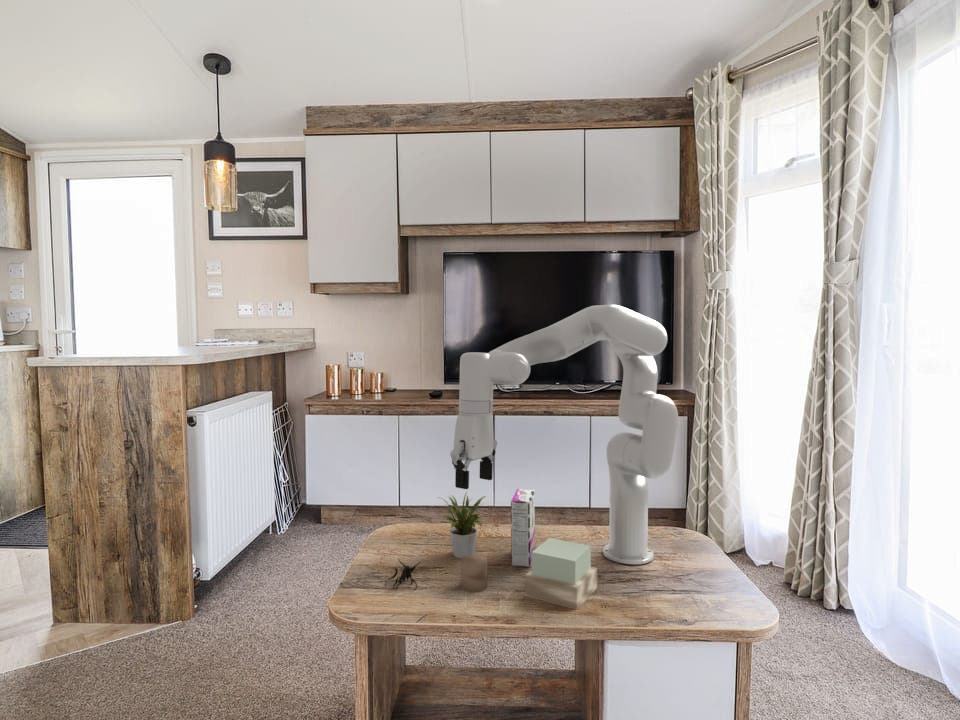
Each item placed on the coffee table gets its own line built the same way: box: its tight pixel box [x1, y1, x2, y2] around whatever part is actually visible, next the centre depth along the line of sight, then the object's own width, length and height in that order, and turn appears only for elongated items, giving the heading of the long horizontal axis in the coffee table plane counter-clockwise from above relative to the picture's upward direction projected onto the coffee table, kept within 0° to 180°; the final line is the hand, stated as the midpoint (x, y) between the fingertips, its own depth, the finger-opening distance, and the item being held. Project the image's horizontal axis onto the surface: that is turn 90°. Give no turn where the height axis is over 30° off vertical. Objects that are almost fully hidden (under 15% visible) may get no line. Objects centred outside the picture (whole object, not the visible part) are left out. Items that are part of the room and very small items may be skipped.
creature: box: [384, 558, 422, 591], centre depth 130 cm, size 8×5×8 cm
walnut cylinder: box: [460, 554, 488, 593], centre depth 130 cm, size 6×6×6 cm
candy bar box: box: [510, 488, 536, 568], centre depth 146 cm, size 11×5×16 cm, turn 168°
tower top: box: [531, 537, 592, 584], centre depth 127 cm, size 10×10×5 cm
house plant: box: [437, 491, 487, 559], centre depth 148 cm, size 14×14×16 cm
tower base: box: [524, 566, 598, 610], centre depth 127 cm, size 12×12×5 cm
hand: (474, 483), depth 129 cm, fingers open, 9 cm apart
